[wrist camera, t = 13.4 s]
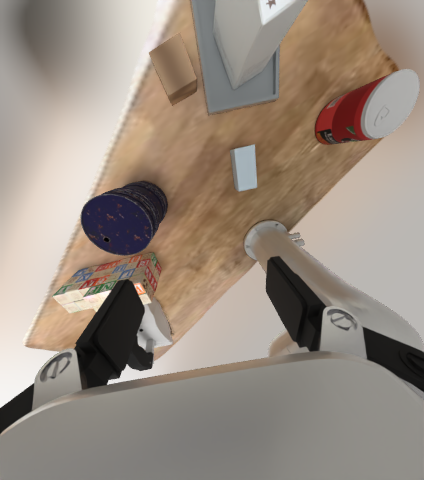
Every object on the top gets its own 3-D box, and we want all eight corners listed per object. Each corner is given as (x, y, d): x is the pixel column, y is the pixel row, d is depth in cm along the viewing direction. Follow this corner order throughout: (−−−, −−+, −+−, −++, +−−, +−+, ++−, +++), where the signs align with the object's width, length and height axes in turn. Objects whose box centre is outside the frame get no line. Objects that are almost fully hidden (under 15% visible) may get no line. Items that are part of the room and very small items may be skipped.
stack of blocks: (91, 285, 45) (59, 325, 34) (78, 269, 42) (38, 307, 31) (162, 269, 45) (152, 303, 34) (153, 251, 42) (139, 283, 31)
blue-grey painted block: (229, 150, 32) (234, 149, 29) (248, 146, 32) (254, 144, 29) (234, 188, 36) (239, 191, 33) (251, 184, 36) (257, 187, 33)
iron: (146, 339, 59) (132, 390, 46) (118, 295, 47) (89, 347, 34) (174, 333, 59) (168, 383, 46) (152, 288, 48) (137, 337, 34)
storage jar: (142, 170, 32) (107, 176, 19) (177, 204, 36) (167, 228, 23) (114, 201, 35) (65, 226, 21) (149, 230, 39) (126, 266, 25)
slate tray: (274, -31, 22) (281, -46, 21) (274, 101, 29) (278, 98, 28) (188, -13, 22) (187, -27, 21) (208, 115, 29) (209, 112, 28)
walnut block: (182, 54, 25) (179, 32, 21) (196, 91, 28) (196, 78, 23) (156, 71, 26) (148, 52, 21) (172, 106, 28) (168, 95, 24)
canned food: (307, 142, 33) (354, 134, 23) (324, 94, 30) (388, 60, 20) (337, 147, 34) (394, 142, 25) (357, 102, 31) (433, 74, 21)
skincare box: (261, 72, 27) (327, -15, 13) (230, 92, 27) (264, 29, 14) (243, 2, 23) (310, -215, 10) (208, 28, 24) (226, -139, 10)
